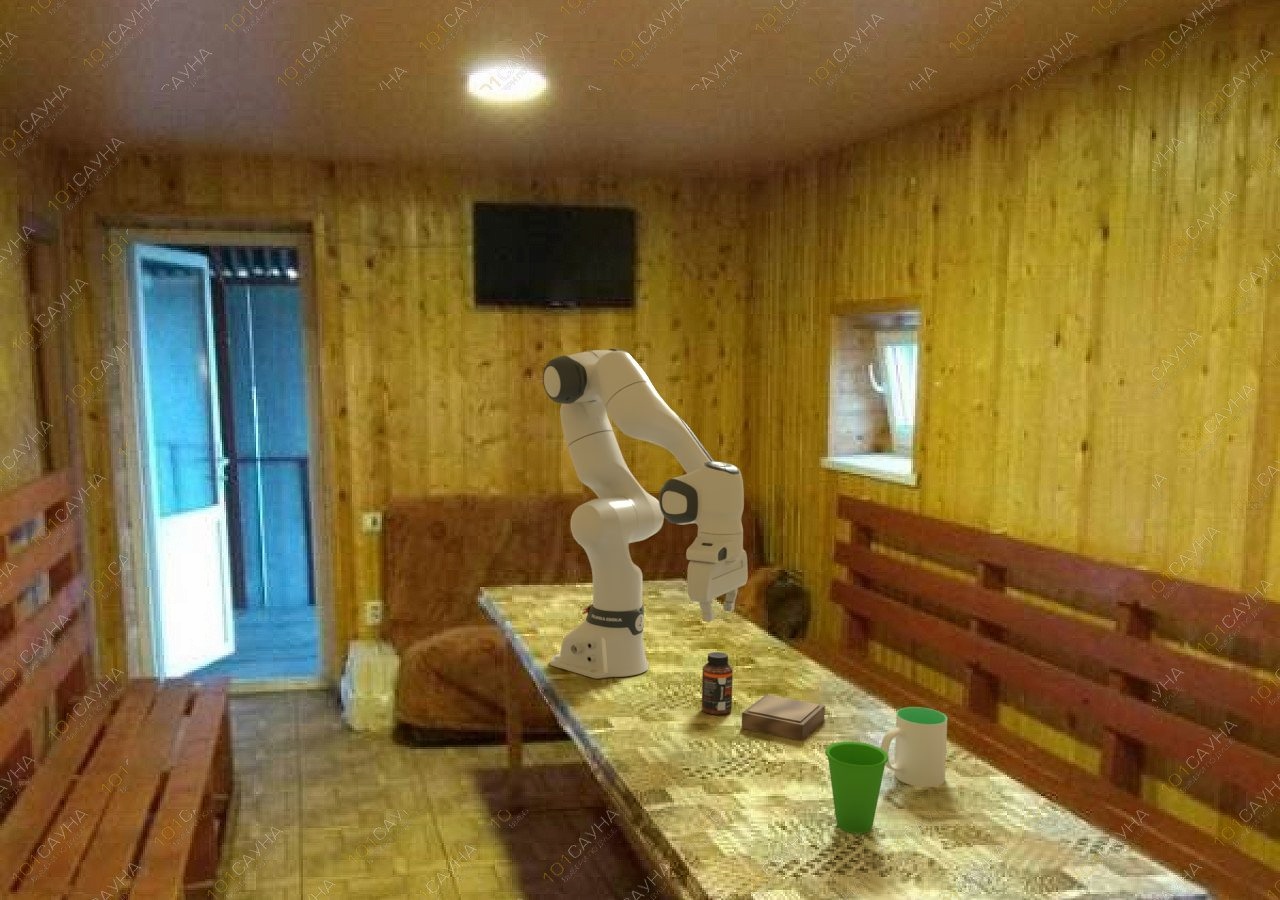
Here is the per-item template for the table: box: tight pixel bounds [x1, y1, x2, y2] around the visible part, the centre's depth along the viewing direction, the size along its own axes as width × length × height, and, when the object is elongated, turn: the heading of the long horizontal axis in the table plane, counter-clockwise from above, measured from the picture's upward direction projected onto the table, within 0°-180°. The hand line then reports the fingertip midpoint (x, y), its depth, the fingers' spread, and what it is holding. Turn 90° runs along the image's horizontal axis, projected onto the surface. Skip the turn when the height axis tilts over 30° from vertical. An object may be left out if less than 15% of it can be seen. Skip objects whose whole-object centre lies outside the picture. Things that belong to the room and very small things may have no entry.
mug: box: [880, 706, 948, 788], centre depth 156 cm, size 12×8×10 cm, turn 120°
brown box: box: [741, 694, 826, 742], centre depth 181 cm, size 12×12×3 cm
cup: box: [824, 741, 889, 834], centre depth 140 cm, size 9×9×11 cm
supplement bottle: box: [701, 651, 734, 716], centre depth 187 cm, size 6×6×11 cm
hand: (718, 615), depth 186 cm, fingers open, 8 cm apart
